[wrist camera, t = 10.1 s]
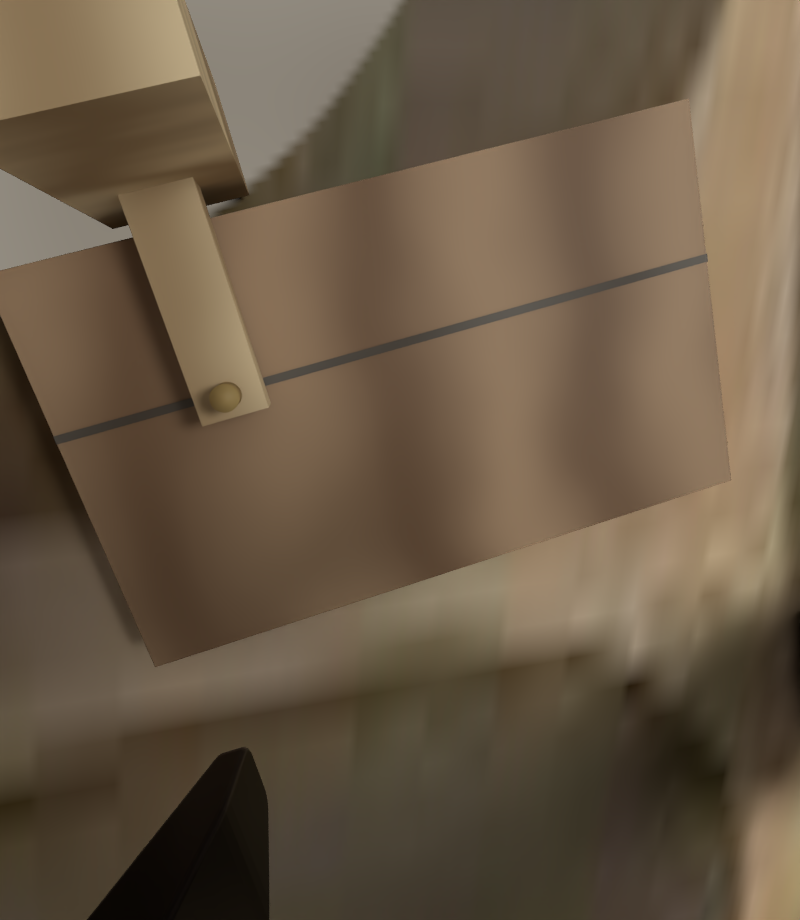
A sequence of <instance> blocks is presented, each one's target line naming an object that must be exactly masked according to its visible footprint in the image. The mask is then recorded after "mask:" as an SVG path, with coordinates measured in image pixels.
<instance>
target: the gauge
mask: <svg viewBox="0 0 800 920" xmlns="http://www.w3.org/2000/svg"><path fill="white" fill-rule="evenodd" d="M0 169H2V170H4V171H5V172H7V173H9V174H12V175H13V176H15V177H17V178H19V179H20V180H22V181H24V182H26V183H28V184H30V185H32V186H34V187H35V188H37V189H39V190H41V191H43V192H45V193H47V194H49V195H51V196H52V197H54V198H56V199H58V200H60V201H62V202H64V203H66V204H67V205H69V206H71V207H73V208H75V209H77V210H79V211H81V212H82V213H85V214H86V215H88V216H90V217H92V218H94V219H96V220H97V221H99V222H101V223H103V224H105V225H107V226H109V227H111V228H112V229H114V228H118V227H122V226H126V225H129V227H130V230H131V233H132V236H133V238H134V241H135V244H136V247H137V249H138V252H139V255H140V258H141V260H142V263H143V266H144V269H145V271H146V274H147V277H148V279H149V282H150V285H151V288H152V290H153V293H154V296H155V299H156V301H157V304H158V307H159V310H160V312H161V315H162V318H163V321H164V323H165V326H166V329H167V331H168V334H169V337H170V340H171V342H172V345H173V348H174V351H175V353H176V356H177V359H178V362H179V364H180V367H181V370H182V372H183V375H184V378H185V381H186V383H187V386H188V389H189V392H190V394H191V397H192V400H193V403H194V405H195V408H196V411H197V414H198V416H199V419H200V422H201V424H202V426H206V425H209V424H213V423H216V422H220V421H223V420H227V419H230V418H234V417H237V416H241V415H244V414H248V413H251V412H255V411H258V410H262V409H265V408H269V406H270V404H271V402H270V399H269V396H268V393H267V389H266V386H265V383H264V380H263V377H262V374H261V371H260V368H259V365H258V362H257V359H256V356H255V353H254V350H253V347H252V344H251V341H250V338H249V335H248V332H247V329H246V326H245V322H244V319H243V316H242V313H241V310H240V307H239V304H238V301H237V298H236V295H235V292H234V289H233V286H232V283H231V280H230V277H229V274H228V271H227V268H226V265H225V262H224V259H223V255H222V252H221V249H220V246H219V243H218V240H217V237H216V234H215V231H214V228H213V225H212V222H211V219H210V216H209V213H208V210H207V207H206V206H207V205H211V204H215V203H219V202H223V201H227V200H232V199H236V198H240V197H244V196H248V195H249V192H248V189H247V186H246V183H245V180H244V176H243V173H242V170H241V167H240V163H239V160H238V157H237V154H236V150H235V147H234V144H233V141H232V137H231V134H230V131H229V128H228V124H227V121H226V118H225V115H224V111H223V108H222V105H221V102H220V98H219V95H218V92H217V89H216V85H215V83H214V79H213V77H212V74H211V71H210V68H209V66H208V63H207V60H206V58H205V55H204V52H203V49H202V46H201V44H200V41H199V38H198V35H197V33H196V30H195V27H194V24H193V22H192V19H191V16H190V14H189V11H188V8H187V5H186V3H185V0H0Z"/></svg>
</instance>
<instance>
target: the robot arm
mask: <svg viewBox="0 0 800 920" xmlns="http://www.w3.org/2000/svg"><path fill="white" fill-rule="evenodd" d="M87 920H269V837H268V801H267V795H266V791H265V788H264V785H263V783H262V780H261V777H260V775H259V772H258V769H257V767H256V764H255V761H254V758H253V756H252V753H251V752H250V750H249V749H248V748H246V747H241V748H238V749H234V750H231V751H228V752H225V753H222V754H220V755H219V756H218V757H217V758H216V759H215V760H214V761H213V763H212V764H211V765H210V766H209V768H208V769H207V770H206V771H205V773H204V774H203V775H202V776H201V778H200V779H199V780H198V781H197V783H196V784H195V785H194V786H193V788H192V789H191V790H190V791H189V793H188V794H187V795H186V796H185V798H184V799H183V800H182V801H181V803H180V804H179V805H178V806H177V808H176V809H175V810H174V811H173V813H172V814H171V815H170V816H169V818H168V819H167V820H166V821H165V823H164V824H163V825H162V826H161V828H160V829H159V830H158V831H157V833H156V834H155V835H154V836H153V838H152V839H151V840H150V841H149V843H148V844H147V845H146V846H145V848H144V849H143V850H142V851H141V853H140V854H139V855H138V856H137V858H136V859H135V860H134V861H133V863H132V864H131V865H130V866H129V868H128V869H127V870H126V871H125V873H124V874H123V875H122V876H121V878H120V879H119V880H118V881H117V883H116V884H115V885H114V886H113V888H112V889H111V890H110V891H109V893H108V894H107V895H106V896H105V898H104V899H103V900H102V901H101V903H100V904H99V905H98V906H97V908H96V909H95V910H94V911H93V913H92V914H91V915H90V916H89V918H88V919H87Z"/></svg>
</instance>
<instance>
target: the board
mask: <svg viewBox="0 0 800 920" xmlns="http://www.w3.org/2000/svg"><path fill="white" fill-rule="evenodd" d="M210 219H211V222H212V225H213V228H214V231H215V234H216V237H217V240H218V243H219V246H220V249H221V252H222V255H223V259H224V262H225V265H226V268H227V271H228V274H229V277H230V280H231V283H232V286H233V289H234V292H235V295H236V298H237V301H238V304H239V307H240V310H241V313H242V316H243V319H244V322H245V326H246V329H247V332H248V335H249V338H250V341H251V344H252V347H253V350H254V353H255V356H256V359H257V362H258V365H259V368H260V371H261V374H262V377H263V380H264V383H265V386H266V389H267V393H268V396H269V399H270V402H271V404H270V406H269V408H265V409H262V410H258V411H255V412H251V413H248V414H244V415H241V416H237V417H234V418H230V419H227V420H223V421H220V422H216V423H213V424H209V425H206V426H202V424H201V422H200V419H199V416H198V414H197V411H196V408H195V405H194V403H193V400H192V397H191V394H190V392H189V389H188V386H187V383H186V381H185V378H184V375H183V372H182V370H181V367H180V364H179V362H178V359H177V356H176V353H175V351H174V348H173V345H172V342H171V340H170V337H169V334H168V331H167V329H166V326H165V323H164V321H163V318H162V315H161V312H160V310H159V307H158V304H157V301H156V299H155V296H154V293H153V290H152V288H151V285H150V282H149V279H148V277H147V274H146V271H145V269H144V266H143V263H142V260H141V258H140V255H139V252H138V249H137V247H136V244H135V241H134V238H129V239H125V240H121V241H117V242H113V243H109V244H105V245H101V246H97V247H93V248H89V249H85V250H81V251H77V252H73V253H69V254H65V255H61V256H57V257H53V258H49V259H45V260H41V261H37V262H33V263H29V264H25V265H21V266H17V267H13V268H9V269H5V270H1V271H0V316H1V318H2V320H3V322H4V325H5V327H6V329H7V331H8V334H9V336H10V338H11V341H12V343H13V345H14V347H15V350H16V352H17V354H18V356H19V359H20V361H21V363H22V366H23V368H24V370H25V372H26V375H27V377H28V379H29V381H30V384H31V386H32V388H33V391H34V393H35V395H36V397H37V400H38V402H39V404H40V406H41V409H42V411H43V413H44V416H45V418H46V420H47V422H48V425H49V427H50V429H51V431H52V434H53V438H54V440H55V442H56V444H57V445H58V447H59V450H60V452H61V454H62V456H63V459H64V461H65V463H66V466H67V468H68V470H69V472H70V475H71V477H72V479H73V481H74V484H75V486H76V488H77V491H78V493H79V495H80V497H81V500H82V502H83V504H84V506H85V509H86V511H87V513H88V516H89V518H90V520H91V522H92V525H93V527H94V529H95V531H96V534H97V536H98V538H99V540H100V543H101V545H102V547H103V550H104V552H105V554H106V556H107V559H108V561H109V563H110V565H111V568H112V570H113V572H114V575H115V577H116V579H117V581H118V584H119V586H120V588H121V590H122V593H123V595H124V597H125V600H126V602H127V604H128V606H129V609H130V611H131V613H132V615H133V618H134V620H135V622H136V625H137V627H138V629H139V631H140V634H141V636H142V638H143V640H144V643H145V645H146V647H147V650H148V652H149V654H150V656H151V659H152V661H153V663H154V665H155V667H157V666H160V665H163V664H167V663H170V662H173V661H176V660H179V659H182V658H185V657H188V656H191V655H194V654H197V653H200V652H203V651H207V650H210V649H213V648H216V647H219V646H222V645H225V644H228V643H231V642H234V641H237V640H240V639H244V638H247V637H250V636H253V635H256V634H259V633H262V632H265V631H268V630H271V629H274V628H277V627H281V626H284V625H287V624H290V623H293V622H296V621H299V620H302V619H305V618H308V617H311V616H314V615H317V614H321V613H324V612H327V611H330V610H333V609H336V608H339V607H342V606H345V605H348V604H351V603H354V602H358V601H361V600H364V599H367V598H370V597H373V596H376V595H379V594H382V593H385V592H388V591H391V590H394V589H398V588H401V587H404V586H407V585H410V584H413V583H416V582H419V581H422V580H425V579H428V578H431V577H435V576H438V575H441V574H444V573H447V572H450V571H453V570H456V569H459V568H462V567H465V566H468V565H472V564H475V563H478V562H481V561H484V560H487V559H490V558H493V557H496V556H499V555H502V554H505V553H508V552H512V551H515V550H518V549H521V548H524V547H527V546H530V545H533V544H536V543H539V542H542V541H545V540H549V539H552V538H555V537H558V536H561V535H564V534H567V533H570V532H573V531H576V530H579V529H582V528H586V527H589V526H592V525H595V524H598V523H601V522H604V521H607V520H610V519H613V518H616V517H619V516H622V515H626V514H629V513H632V512H635V511H638V510H641V509H644V508H647V507H650V506H653V505H656V504H659V503H663V502H666V501H669V500H672V499H675V498H678V497H681V496H684V495H687V494H690V493H693V492H696V491H699V490H703V489H706V488H709V487H712V486H715V485H718V484H721V483H724V482H727V481H730V480H731V474H730V465H729V456H728V447H727V438H726V429H725V420H724V411H723V402H722V393H721V384H720V375H719V366H718V357H717V348H716V339H715V330H714V321H713V312H712V303H711V294H710V285H709V276H708V267H707V262H708V259H707V254H706V249H705V240H704V231H703V222H702V213H701V204H700V195H699V186H698V177H697V168H696V159H695V150H694V141H693V132H692V123H691V114H690V105H689V99H685V100H681V101H677V102H673V103H669V104H665V105H661V106H657V107H653V108H649V109H645V110H641V111H637V112H633V113H629V114H625V115H621V116H617V117H613V118H609V119H605V120H601V121H597V122H593V123H589V124H585V125H581V126H577V127H573V128H569V129H565V130H561V131H557V132H553V133H549V134H545V135H541V136H537V137H533V138H529V139H525V140H521V141H517V142H513V143H509V144H505V145H501V146H497V147H493V148H489V149H485V150H481V151H477V152H473V153H469V154H465V155H461V156H457V157H453V158H449V159H445V160H441V161H437V162H433V163H429V164H425V165H421V166H417V167H413V168H409V169H405V170H401V171H397V172H393V173H389V174H385V175H381V176H377V177H373V178H369V179H365V180H361V181H357V182H353V183H349V184H345V185H341V186H337V187H333V188H329V189H325V190H321V191H317V192H313V193H309V194H305V195H301V196H297V197H293V198H289V199H285V200H281V201H277V202H273V203H269V204H265V205H261V206H257V207H253V208H249V209H245V210H241V211H237V212H233V213H229V214H225V215H221V216H217V217H213V218H210Z"/></svg>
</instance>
